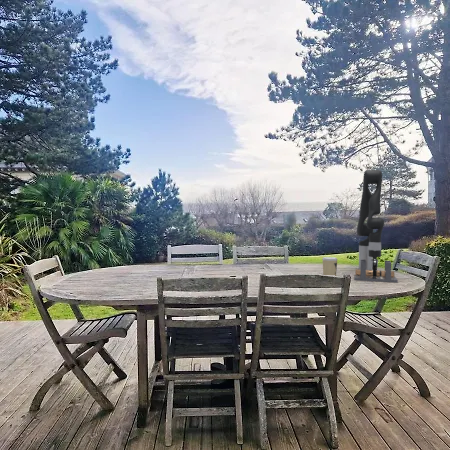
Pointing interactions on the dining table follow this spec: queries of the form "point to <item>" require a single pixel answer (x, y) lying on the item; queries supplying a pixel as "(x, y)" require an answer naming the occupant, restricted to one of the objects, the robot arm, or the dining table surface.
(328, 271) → the coffee cup
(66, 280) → the dining table surface
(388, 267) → the grey u-shaped frame
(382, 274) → the copper tube
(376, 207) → the robot arm
